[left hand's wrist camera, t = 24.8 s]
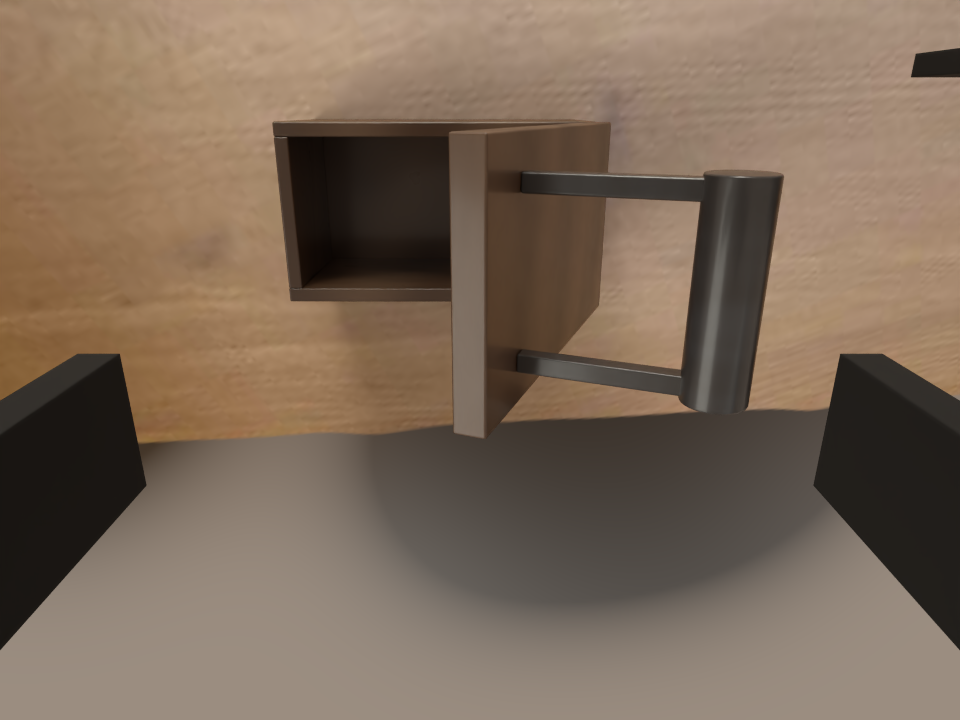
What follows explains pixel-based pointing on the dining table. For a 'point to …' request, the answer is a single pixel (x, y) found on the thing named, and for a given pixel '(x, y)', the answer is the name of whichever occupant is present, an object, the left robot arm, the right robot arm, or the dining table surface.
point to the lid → (590, 269)
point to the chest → (369, 206)
